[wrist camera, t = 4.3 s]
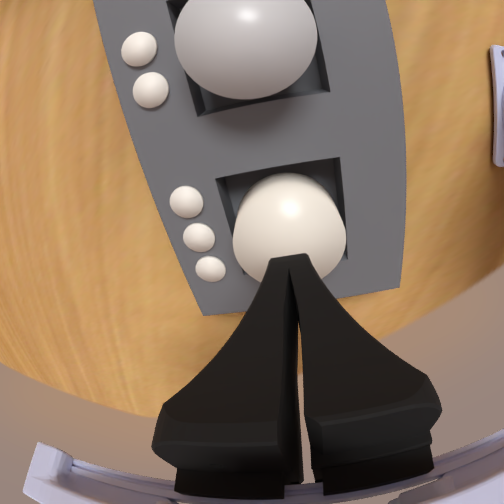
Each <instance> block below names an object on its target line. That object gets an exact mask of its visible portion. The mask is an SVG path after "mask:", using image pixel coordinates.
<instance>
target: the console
mask: <svg viewBox="0 0 504 504" xmlns="http://www.w3.org/2000/svg"><path fill="white" fill-rule="evenodd" d="M188 1H189V0H93V2H94V7H95V11H96V16H97V20H98V24H99V28H100V32H101V36H102V40H103V44H104V48H105V52H106V56H107V59H108V63H109V66H110V70H111V73H112V77H113V80H114V84H115V87H116V91H117V94H118V97H119V100H120V104H121V107H122V110H123V113H124V116H125V119H126V122H127V126H128V129H129V132H130V135H131V138H132V140H133V143H134V146H135V149H136V152H137V155H138V158H139V161H140V163H141V166H142V169H143V172H144V175H145V177H146V180H147V183H148V185H149V188H150V191H151V193H152V196H153V199H154V201H155V204H156V206H157V209H158V212H159V214H160V217H161V219H162V222H163V224H164V227H165V229H166V232H167V234H168V236H169V239H170V241H171V244H172V246H173V249H174V251H175V253H176V256H177V258H178V260H179V263H180V265H181V267H182V270H183V272H184V274H185V277H186V279H187V281H188V283H189V286H190V288H191V290H192V292H193V295H194V297H195V299H196V301H197V303H198V306H199V308H200V310H201V312H202V314H203V316H207V315H217V314H226V313H235V312H244V311H247V310H248V308H249V306H250V305H251V303H252V301H253V299H254V297H255V295H256V293H257V291H258V288H259V286H260V284H261V282H259V281H257V280H256V279H254V278H252V277H251V276H250V275H249V274H247V273H246V272H245V271H244V270H243V268H242V267H241V266H240V264H239V263H238V261H237V259H236V256H235V254H234V249H233V234H234V228H235V223H236V218H237V212H238V208H239V204H240V202H241V199H242V198H243V196H244V194H245V193H246V192H247V191H248V189H249V188H250V187H251V186H253V185H254V184H255V183H256V182H258V181H259V180H261V179H263V178H265V177H267V176H270V175H273V174H278V173H298V174H302V175H306V176H308V177H311V178H313V179H314V180H316V181H318V182H319V183H320V184H322V185H323V186H324V187H325V188H326V189H327V190H328V192H329V193H330V195H331V197H332V199H333V201H334V203H335V205H336V207H337V210H338V212H339V214H340V217H341V219H342V222H343V224H344V227H345V232H346V245H345V250H344V253H343V256H342V258H341V260H340V261H339V263H338V264H337V266H336V267H335V268H334V269H333V270H332V271H331V272H330V273H329V274H328V275H326V276H325V277H324V278H322V281H323V282H324V284H325V285H326V286H327V288H328V289H329V291H330V292H331V293H332V295H333V296H334V297H335V298H336V299H337V298H344V297H350V296H355V295H361V294H367V293H373V292H378V291H384V290H389V289H394V288H399V287H400V279H401V270H402V260H403V249H404V235H405V216H406V143H405V125H404V112H403V101H402V92H401V83H400V75H399V68H398V61H397V55H396V49H395V44H394V38H393V33H392V28H391V23H390V19H389V14H388V10H387V6H386V2H385V0H304V1H305V2H306V4H307V5H308V7H309V8H310V10H311V12H312V14H313V16H314V19H315V23H316V28H317V45H316V50H315V53H314V56H313V58H312V61H311V63H310V65H309V66H308V68H307V69H306V71H305V72H304V73H303V74H302V75H301V76H300V78H298V79H297V80H296V81H295V82H294V83H293V84H291V85H290V86H288V87H287V88H285V89H283V90H281V91H280V92H278V93H275V94H272V95H270V96H266V97H262V98H256V99H232V98H228V97H223V96H220V95H217V94H214V93H212V92H210V91H208V90H206V89H205V88H203V87H201V86H200V85H199V84H197V83H196V82H195V81H194V80H193V79H192V78H191V77H190V76H189V75H188V74H187V73H186V71H185V70H184V69H183V67H182V65H181V63H180V61H179V59H178V56H177V53H176V49H175V41H174V35H175V27H176V23H177V20H178V17H179V15H180V13H181V11H182V9H183V8H184V6H185V5H186V3H187V2H188Z"/></svg>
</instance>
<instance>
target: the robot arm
mask: <svg viewBox="0 0 504 504" xmlns="http://www.w3.org/2000/svg"><path fill="white" fill-rule="evenodd" d="M501 51H502V53H503V57H502V55H501ZM490 57H491V66H492V77H493V92H494V145H493V163H494V164H495V165H496V166H498V167H504V161H503V158H504V47H503V46H499V45H492V46H491V47H490ZM298 323H299V328H300V332H301V344H302V362H303V388H304V417H305V422H306V427H307V431H308V436H309V442H310V449H311V469H313V474H314V478H315V483H308V484H301V483H302V482H303V481H304V475H303V461H302V444H301V429H300V413H299V399H298V383H297V366H298ZM441 412H442V407H441V403H440V400H439V397H438V395H437V393H436V391H435V389H434V387H433V385H432V383H431V381H430V379H429V378H428V376H427V375H426V374H424V373H423V372H421V371H419V370H418V369H416V368H414V367H413V366H411V365H410V364H408V363H407V362H405V361H404V360H402V359H401V358H399V357H398V356H397V355H395V354H394V353H393V352H391V351H389V350H388V349H387V348H386V347H385V346H383V345H382V344H381V343H380V342H379V341H377V340H376V339H375V338H374V337H373V336H371V335H370V334H369V333H368V332H367V331H366V330H365V329H364V328H362V327H361V326H360V325H359V324H358V323H357V322H356V321H355V320H354V319H353V318H352V317H351V316H350V315H349V313H348V312H347V311H346V310H345V309H344V308H343V307H342V306H341V304H340V303H339V302H338V301H337V300H336V298H335V297H334V296H333V295H332V293H331V292H330V291H329V289H328V288H327V286H326V285H325V284H324V282H323V281H322V279H321V278H320V276H319V275H318V273H317V272H316V270H315V268H314V266H313V264H312V262H311V260H310V258H309V255H308V254H306V253H301V254H295V255H288V256H282V257H275V258H271V259H270V260H269V262H268V266H267V269H266V272H265V274H264V277H263V279H262V282H261V284H260V286H259V288H258V291H257V293H256V295H255V297H254V299H253V301H252V303H251V305H250V306H249V308H248V310H247V312H246V314H245V315H244V317H243V319H242V320H241V322H240V324H239V325H238V327H237V328H236V330H235V331H234V332H233V334H232V335H231V337H230V338H229V339H228V341H227V342H226V343H225V345H224V346H223V347H222V348H221V350H220V351H219V352H218V353H217V355H216V356H215V357H214V358H213V359H212V360H211V361H210V362H209V363H208V364H207V366H206V367H205V368H204V369H203V370H202V371H201V372H200V373H199V374H198V375H197V376H196V377H195V378H194V379H193V380H192V381H190V382H189V383H188V384H187V385H186V386H185V387H184V388H182V389H181V390H180V391H179V392H178V393H176V394H175V395H174V396H173V397H171V398H170V399H169V400H168V401H166V402H165V403H164V404H163V405H162V409H161V411H160V414H159V416H158V420H157V423H156V427H155V432H154V436H153V441H152V446H151V447H152V450H153V451H154V452H155V454H156V455H158V456H159V457H160V458H162V459H163V460H165V461H166V462H168V463H170V464H171V465H172V466H174V467H176V468H177V474H176V480H175V481H171V480H164V479H158V478H152V477H146V476H140V475H136V474H131V473H126V472H121V471H118V470H114V469H109V468H106V467H102V466H98V465H95V464H91V463H88V462H84V461H81V460H78V459H75V458H73V457H72V456H71V455H69V454H67V453H66V452H64V451H62V450H60V449H58V448H56V447H53V446H50V445H48V444H45V443H42V442H38V443H37V446H36V449H35V452H34V455H33V458H32V461H31V464H30V468H29V471H28V474H27V478H26V481H25V485H24V488H23V492H24V494H26V495H28V496H29V497H31V498H33V499H35V500H36V501H38V502H40V503H41V504H179V503H177V502H182V503H189V504H332V503H339V502H346V501H351V500H357V499H363V498H368V497H373V496H377V495H382V494H386V493H391V492H395V491H398V490H402V489H405V488H409V487H413V486H416V485H419V484H423V483H426V482H429V481H432V480H435V479H437V480H436V481H433V482H431V483H428V484H426V485H423V486H420V487H417V488H415V489H412V490H409V491H406V492H403V493H401V494H400V495H399V497H398V498H396V499H394V500H391V501H390V502H389V503H388V504H504V429H502V430H500V431H498V432H496V433H493V434H491V435H489V436H487V437H485V438H483V439H480V440H478V441H476V442H473V443H471V444H469V445H466V446H464V447H461V448H459V449H456V450H453V451H451V452H448V453H445V454H442V455H440V456H436V457H434V458H432V453H431V449H430V444H432V437H431V433H430V429H431V428H432V427H433V425H434V424H435V423H436V421H437V420H438V418H439V417H440V415H441Z"/></svg>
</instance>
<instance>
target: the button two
mask: <svg viewBox="0 0 504 504" xmlns="http://www.w3.org/2000/svg"><path fill="white" fill-rule="evenodd" d="M174 41H175V49H176V53H177V56H178V59H179V61H180V63H181V65H182V67H183V69H184V70H185V71H186V73H187V74H188V75H189V76H190V77H191V78H192V79H193V80H194V81H195V82H196V83H197V84H199V85H200V86H201V87H203V88H205V89H206V90H208V91H210V92H212V93H214V94H217V95H220V96H223V97H228V98H232V99H256V98H262V97H266V96H270V95H272V94H275V93H278V92H280V91H281V90H283V89H285V88H287V87H288V86H290V85H291V84H293V83H294V82H295V81H296V80H297V79H298V78H300V76H301V75H302V74H303V73H304V72H305V71H306V69H307V68H308V66H309V65H310V63H311V61H312V58H313V56H314V53H315V50H316V45H317V28H316V23H315V19H314V16H313V14H312V12H311V10H310V8H309V7H308V5H307V4H306V2H305V1H304V0H189V1H188V2H187V3H186V5H185V6H184V8H183V9H182V11H181V13H180V15H179V17H178V20H177V23H176V27H175V35H174Z"/></svg>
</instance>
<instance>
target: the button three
mask: <svg viewBox="0 0 504 504" xmlns="http://www.w3.org/2000/svg"><path fill="white" fill-rule="evenodd" d="M345 245H346V232H345V227H344V224H343V222H342V219H341V217H340V214H339V212H338V210H337V207H336V205H335V203H334V201H333V199H332V197H331V195H330V193H329V192H328V190H327V189H326V188H325V187H324V186H323V185H322V184H320V183H319V182H318V181H316V180H314V179H313V178H311V177H308V176H306V175H302V174H298V173H278V174H273V175H270V176H267V177H265V178H263V179H261V180H259V181H258V182H256V183H255V184H254V185H253V186H251V187H250V188H249V189H248V191H247V192H246V193H245V194H244V196H243V198H242V199H241V202H240V204H239V208H238V212H237V218H236V223H235V228H234V234H233V249H234V254H235V256H236V259H237V261H238V263H239V264H240V266H241V267H242V268H243V270H244V271H245V272H246V273H247V274H249V275H250V276H251V277H252V278H254V279H256V280H257V281H259V282H262V279H263V277H264V274H265V272H266V269H267V266H268V262H269V260H270V259H271V258H275V257H282V256H288V255H295V254H301V253H306V254H308V255H309V258H310V260H311V262H312V264H313V266H314V268H315V270H316V272H317V273H318V275H319V276H320V278H321V279H322V278H324V277H325V276H326V275H328V274H329V273H330V272H331V271H332V270H333V269H334V268H335V267H336V266H337V264H338V263H339V261H340V260H341V258H342V256H343V253H344V250H345Z"/></svg>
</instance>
